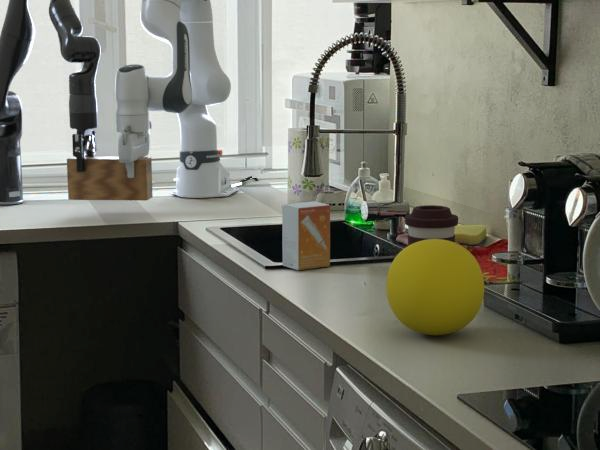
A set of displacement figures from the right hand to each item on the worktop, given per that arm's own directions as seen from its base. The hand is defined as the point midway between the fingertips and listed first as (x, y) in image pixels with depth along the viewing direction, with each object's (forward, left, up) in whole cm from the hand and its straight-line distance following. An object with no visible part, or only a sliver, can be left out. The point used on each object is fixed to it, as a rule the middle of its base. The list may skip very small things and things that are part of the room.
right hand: (134, 175), depth 286 cm
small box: (+51, +69, -11) cm, 86 cm away
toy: (+93, +105, -11) cm, 141 cm away
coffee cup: (+61, +97, -11) cm, 115 cm away
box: (+2, -7, -6) cm, 9 cm away
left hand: (+4, -13, +2) cm, 14 cm away
